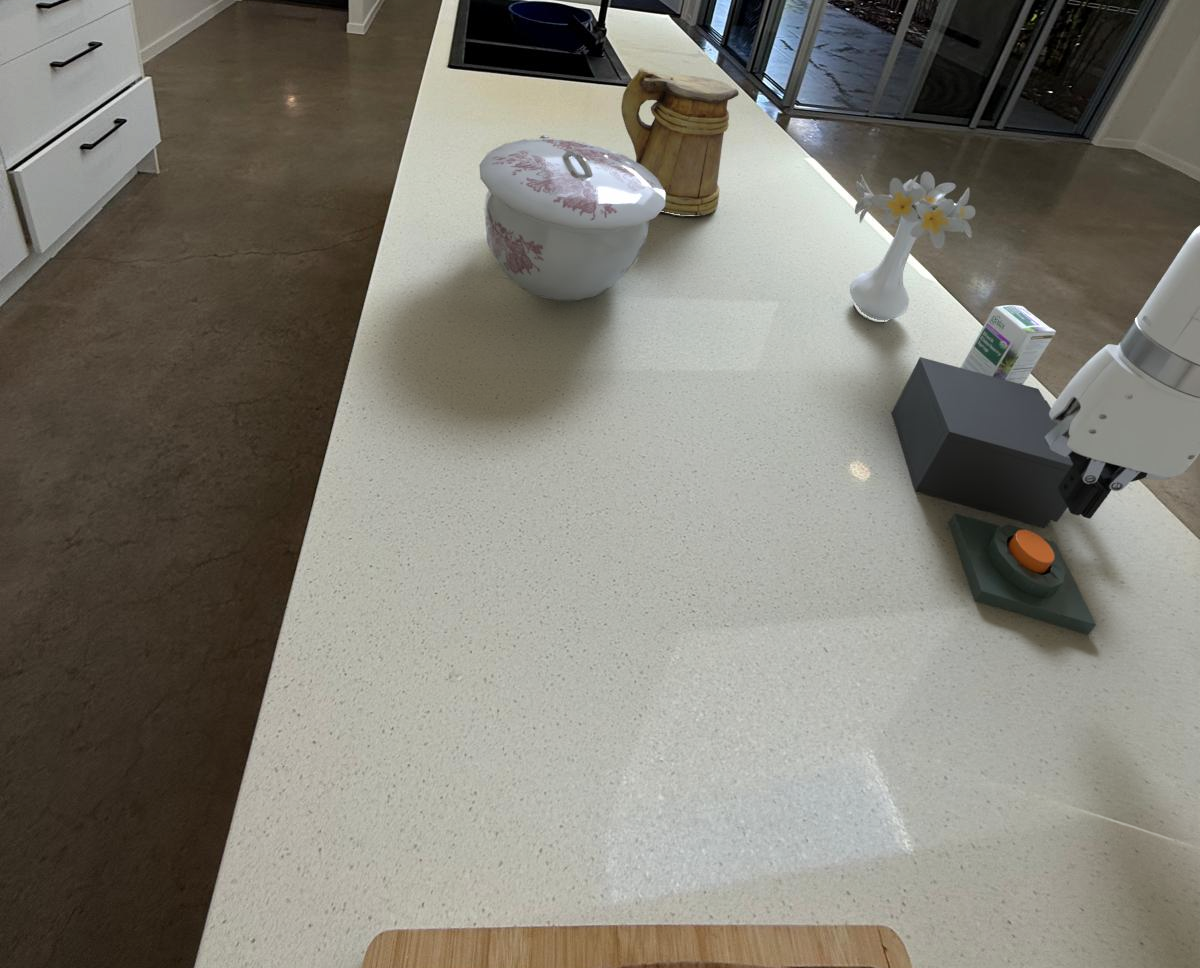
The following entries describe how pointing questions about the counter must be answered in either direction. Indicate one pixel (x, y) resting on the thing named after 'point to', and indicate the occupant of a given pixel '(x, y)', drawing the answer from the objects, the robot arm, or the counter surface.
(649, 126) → the tankard
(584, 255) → the chamber pot
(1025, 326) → the syrup box
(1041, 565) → the button
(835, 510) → the counter surface
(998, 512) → the dark grey cabinet
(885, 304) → the flower vase
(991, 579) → the panel
